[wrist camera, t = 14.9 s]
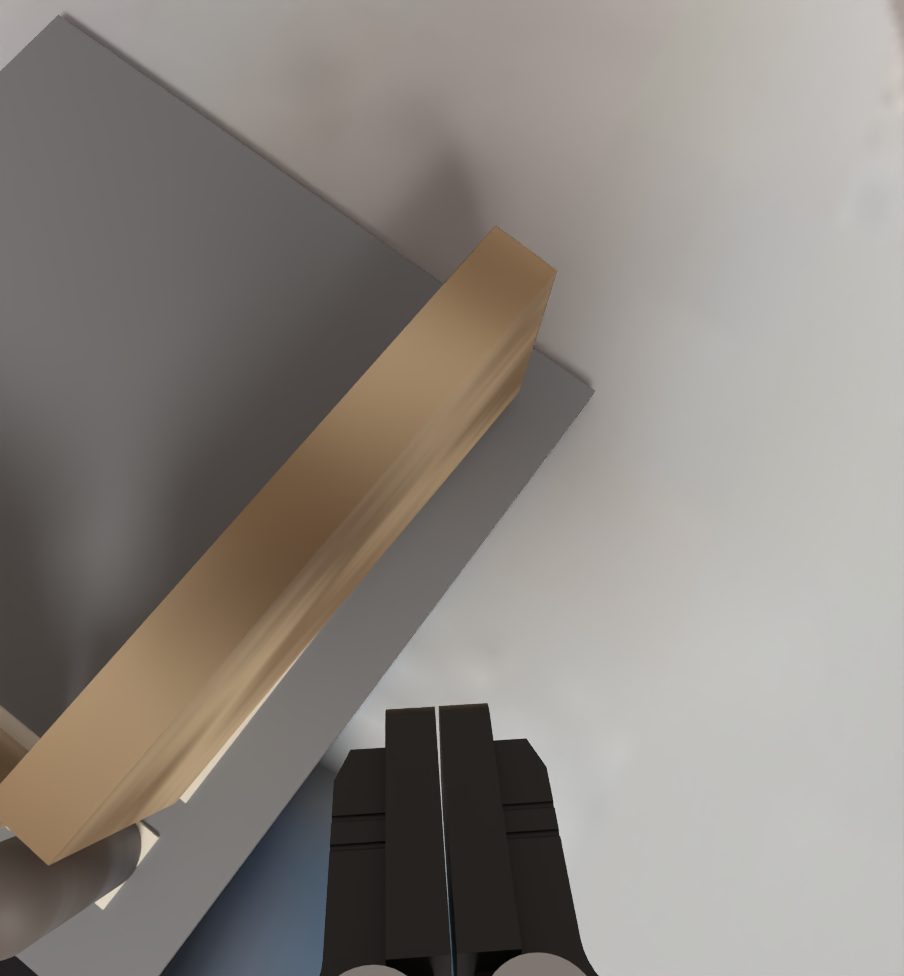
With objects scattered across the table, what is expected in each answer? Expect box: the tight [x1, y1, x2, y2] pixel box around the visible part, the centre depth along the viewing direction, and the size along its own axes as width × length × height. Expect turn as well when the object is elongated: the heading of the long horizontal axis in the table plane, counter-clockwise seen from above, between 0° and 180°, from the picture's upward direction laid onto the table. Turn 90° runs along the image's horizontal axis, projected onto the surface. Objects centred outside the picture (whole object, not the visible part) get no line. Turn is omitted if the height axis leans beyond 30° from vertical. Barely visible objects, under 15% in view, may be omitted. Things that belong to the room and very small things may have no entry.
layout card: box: [0, 15, 595, 976], centre depth 23 cm, size 20×20×1 cm
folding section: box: [0, 226, 557, 866], centre depth 18 cm, size 14×2×7 cm, turn 141°
